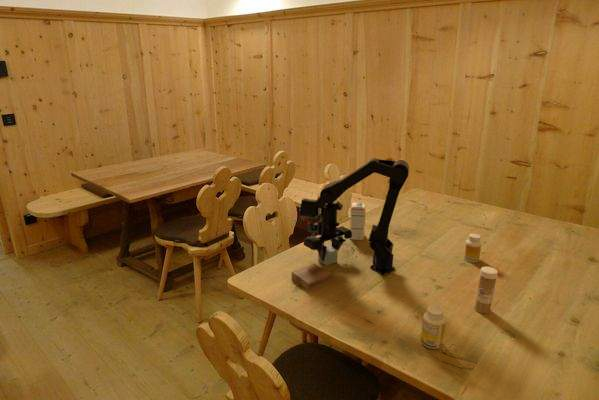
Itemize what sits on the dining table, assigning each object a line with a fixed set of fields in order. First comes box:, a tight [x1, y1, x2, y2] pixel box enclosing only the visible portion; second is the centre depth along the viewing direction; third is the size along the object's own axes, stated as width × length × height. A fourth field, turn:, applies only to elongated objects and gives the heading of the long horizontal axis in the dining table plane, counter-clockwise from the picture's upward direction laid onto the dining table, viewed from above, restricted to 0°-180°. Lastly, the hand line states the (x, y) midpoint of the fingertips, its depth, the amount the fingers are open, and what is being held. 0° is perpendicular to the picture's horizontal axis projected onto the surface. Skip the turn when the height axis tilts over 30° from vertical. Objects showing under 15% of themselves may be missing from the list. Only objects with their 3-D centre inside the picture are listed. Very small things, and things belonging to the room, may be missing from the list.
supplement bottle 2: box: [463, 233, 482, 263], centre depth 150 cm, size 5×5×10 cm
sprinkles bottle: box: [474, 266, 499, 314], centre depth 119 cm, size 5×5×13 cm
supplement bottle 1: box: [420, 305, 447, 350], centre depth 105 cm, size 6×6×10 cm
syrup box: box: [349, 202, 367, 241], centre depth 168 cm, size 6×6×14 cm
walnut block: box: [291, 263, 334, 292], centre depth 136 cm, size 10×10×3 cm
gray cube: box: [317, 244, 339, 267], centre depth 149 cm, size 5×5×5 cm
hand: (327, 258), depth 149 cm, fingers closed on gray cube, 5 cm apart
